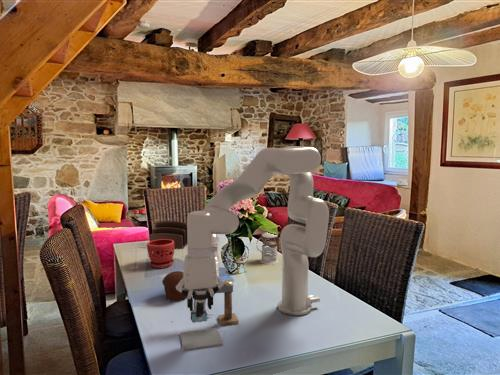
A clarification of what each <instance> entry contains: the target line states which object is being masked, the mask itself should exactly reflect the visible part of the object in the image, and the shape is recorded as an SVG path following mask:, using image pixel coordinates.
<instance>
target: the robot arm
mask: <svg viewBox="0 0 500 375" xmlns="http://www.w3.org/2000/svg"><path fill="white" fill-rule="evenodd" d="M321 162H322V155H321V153H320V151H319V150H318V149H317V148H315V147H312V146H299V145H298V146H296V145H295V146H293V145H291V146H289V145H288V146H285V147H265V148H261V149H260V151H259V152H257V154H256V155H255V156H254V158H253V159H252V160H251V161H250V163H249V164H248V165H247V167H246V168H245V169H244V170H243V171H242V173H241V174H240V175H239V176H238V177H237V179H235V180H233V181H232V182H230V183H229V184H227V185H226V186H224V187H223V188H221V189H219V190H218V191H217V192H216V193H215V194H214V196H212V198H210V200H209V201H208V202H207V204H206V205H205V207H203V210H193V211H191V212H188V214H187V220H186V221H187V222H186V224H187V243H188V244H187V254H185V256H184V258H183V259H184V261H183V268H182V269H183V270H182V272H183V278H182V279H181V281H180V282H179V283H178V284H177V286H176V290H178V291H179V292H181V293H182V294H183V295H184V296H186V297H187V298H186V301H187V308H188V309H189V312H192V311H193V310H194V299H193V297H192V293H193V290H195V289H206V288H208V290H209V295H208V298H207V299H206V301H207V302H206V303H207V309H208V310H212V306H214V297H215V295H216V294H217V293H216V292H217V291H218V290H219V289H220V288H221V287H222V286H223V285H224V283H223V282H224V281H223V280H222V279H221V278H220V276H219V277H218V276H217V270H216V261H215V256H214V254H213V252H215V251H217V247H213V246H212V235H213V234H216V235H230V234H232V233H234V232H236V231H237V229H238V227H239V224H240V220H239V217H238V214H236V213H235V212H234V211H232V210H230V209H231V208H232V207H233V206H234V205H236V204H238V203H239V202H240V203H241V201H244V200H248V199H252V198H254V197H257V196H258V195H260V193H261V192H262V190H263V189H264V188H265V186H266V185H267V184H268V182H269V181H270V180H271V179H272V178H273V176H274V175H275V174H276V175H281V176H282V175H283V176H288V179H289V191H288V192H289V194H288V200H287V201H288V202H287V210H286V211H287V215H288V218H290V219H291V220H293V221H295V222H299V223H302V224H305V226H304V225H300V224H296V223H295V224H294V223H291V224H287V225H286V226H284V227H283V228H282V230H281V231H280V235H279V241H280V248H281V253H282V254H281V256H282V258H281V259H282V264H281V265H282V268H281V270H282V273H281V274H282V276H281V278H282V279H281V300H280V301H279V302H278V303H277V309H278V311H280V312H281V313H283V314H285V315H289V316H303V315H308V314H309V313H310V312H311V311H312V309H313V308H312V304H313V303H320V302H321V300H320V298H321V297H319V296H315V297H314V295H313V294H312V295H309V293H308V292H309V265H310V264H309V259H308V258H309V257H310V258H317V257H319V256H320V255H322V253H323V252H324V251H325V250H324V249H325V248H326V244H327V243H326V242H327V236H328V227H329V219H330V209H329V206H328V205H327V204H328V203H326V202H325V201H324V200H323V199H321V198H318V197H314V186H315V185H314V184H315V182H314V177H313V174H312V173H313V172H315V171H316V170H318V169H319V167H320V165H321ZM217 282H218V284H217ZM183 285H184V287H185V289H187V291H186V290H185V289H183V288H182V286H183Z"/></svg>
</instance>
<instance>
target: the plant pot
mask: <svg viewBox="0 0 500 375" xmlns="http://www.w3.org/2000/svg"><path fill="white" fill-rule="evenodd" d="M160 244H161V245H160ZM146 250H147V253H148V258H149V260H150V262H149V265H150V266H151V267H152V268H155V269H164V268H168V267H171V266H172V265H173V264H174V262H175V260H174V255H175V249H174V241H173V240H170V239H159V240H153V241H150V240H149V241H148V242H147V243H146Z"/></svg>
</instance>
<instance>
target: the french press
mask: <svg viewBox="0 0 500 375" xmlns="http://www.w3.org/2000/svg"><path fill="white" fill-rule="evenodd" d="M272 216H273V215H272V213H268V216H267V217H272ZM268 232H269V231H266V232H263V233H262V234H261V237H260V238H258V239H257V241H256V243H258V242H259V241H260V240H263V238H267V239H268V240H269V241H268V240H265V241H262V246H261V250H260V249H259V248H258V246H256V248H257V250H258V252H260V253H261V258H260V260H259V262H260V263H261V264H265V265H276V264H278V263H279V262H280V261H279V260H278V245H277V242H276V241H272V240H271V239H274V238H277V237H278V234H277V235H274V234H270V233H268Z"/></svg>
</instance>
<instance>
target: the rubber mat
mask: <svg viewBox="0 0 500 375" xmlns="http://www.w3.org/2000/svg"><path fill="white" fill-rule="evenodd" d="M220 334H221V333H220V332H219V330H218V328H217V327H213V328H205V329H198V330H190V331H183V332H182V331H181V332H180V333H179V335H180V336H179V337H180V341H181V345H182V349H183V350H182V351H184V352H185V351H191V350H198V349H199V350H200V349H204V348H205V349H206V348H212V347H220V346H223V345H224V342H223V340H222V336H221V335H220Z"/></svg>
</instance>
